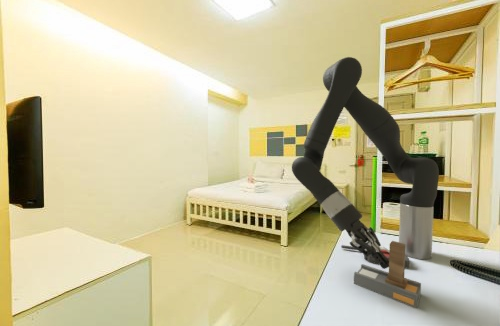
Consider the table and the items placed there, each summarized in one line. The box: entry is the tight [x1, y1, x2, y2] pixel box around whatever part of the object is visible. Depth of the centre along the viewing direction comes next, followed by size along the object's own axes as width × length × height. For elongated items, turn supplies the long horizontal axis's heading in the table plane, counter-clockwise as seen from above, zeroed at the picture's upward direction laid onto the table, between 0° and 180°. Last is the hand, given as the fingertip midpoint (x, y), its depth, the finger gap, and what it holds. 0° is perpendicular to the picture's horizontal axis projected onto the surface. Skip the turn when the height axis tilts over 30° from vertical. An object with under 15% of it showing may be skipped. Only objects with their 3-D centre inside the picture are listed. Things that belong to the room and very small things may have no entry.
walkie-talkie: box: [340, 244, 410, 269], centre depth 73 cm, size 9×4×20 cm
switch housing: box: [353, 263, 422, 309], centre depth 56 cm, size 7×14×3 cm, turn 46°
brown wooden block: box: [385, 240, 409, 289], centre depth 55 cm, size 4×4×10 cm
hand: (387, 266), depth 56 cm, fingers closed
